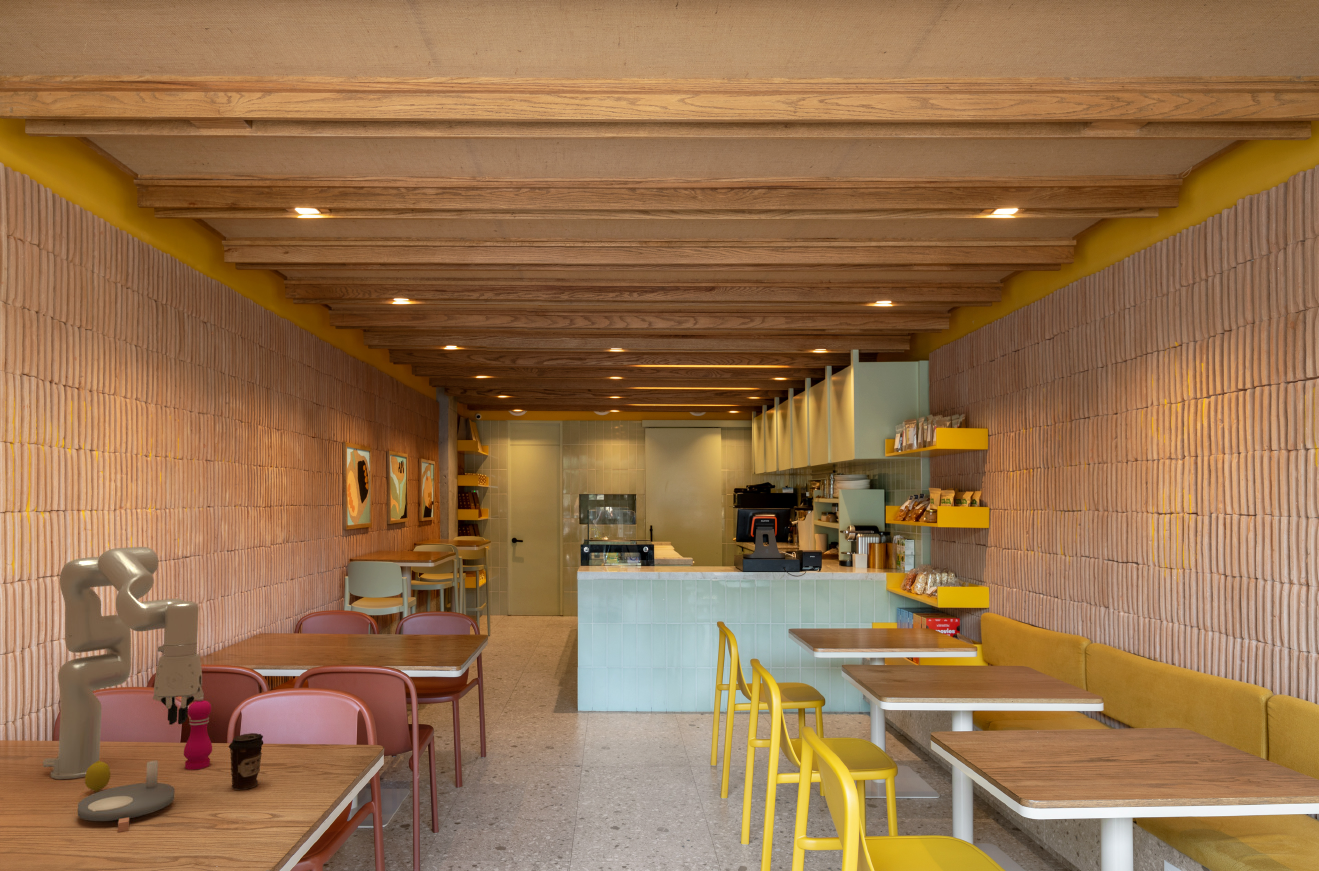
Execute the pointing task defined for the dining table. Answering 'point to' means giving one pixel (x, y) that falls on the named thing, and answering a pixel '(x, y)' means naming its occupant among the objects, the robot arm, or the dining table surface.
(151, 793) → the turntable
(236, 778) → the coffee cup
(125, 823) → the pink rectangular block
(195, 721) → the pepper mill
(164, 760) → the dining table surface
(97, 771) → the lemon
